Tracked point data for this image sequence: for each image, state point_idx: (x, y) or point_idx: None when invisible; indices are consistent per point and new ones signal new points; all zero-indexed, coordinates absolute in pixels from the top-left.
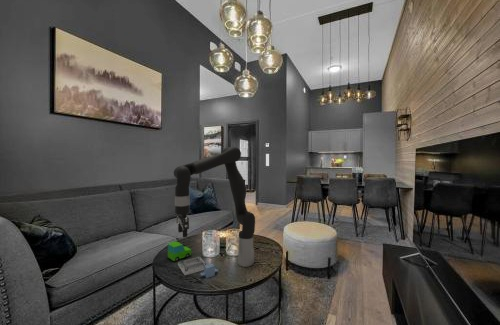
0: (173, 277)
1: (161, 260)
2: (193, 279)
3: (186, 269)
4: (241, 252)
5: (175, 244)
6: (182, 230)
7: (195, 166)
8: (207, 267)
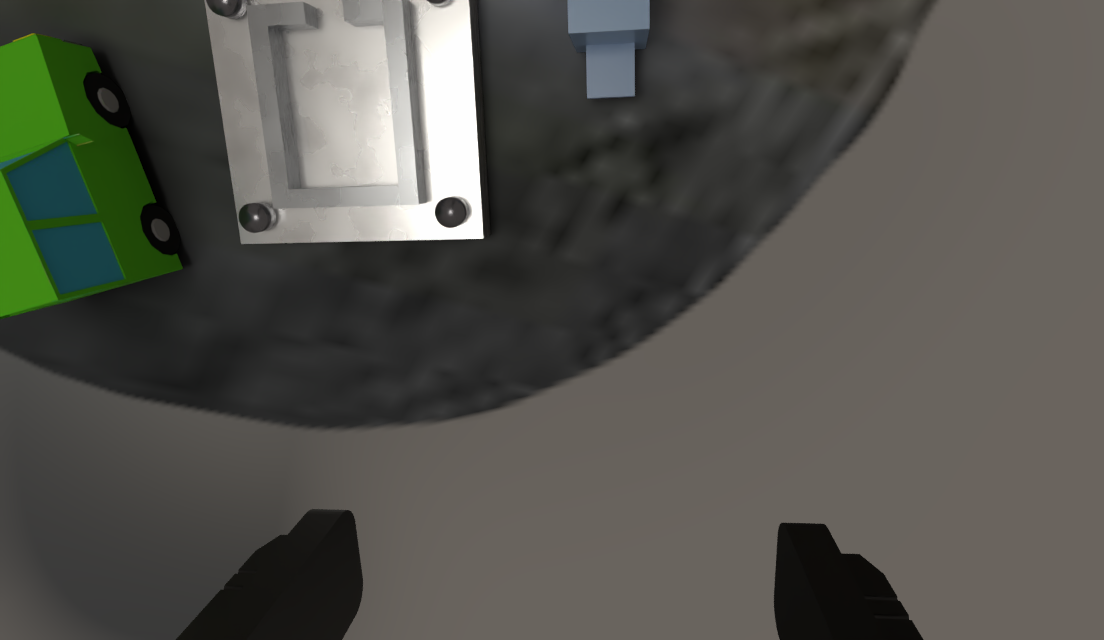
0: (475, 331)
1: (106, 357)
2: (602, 177)
3: (465, 216)
4: None
5: None
6: (336, 527)
7: None
8: (636, 9)
